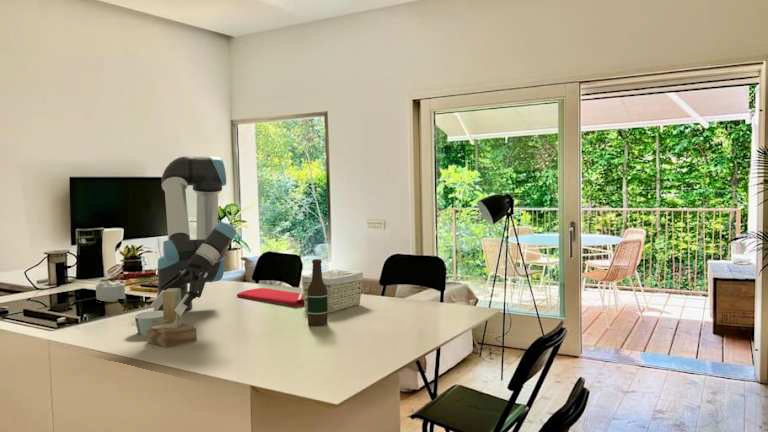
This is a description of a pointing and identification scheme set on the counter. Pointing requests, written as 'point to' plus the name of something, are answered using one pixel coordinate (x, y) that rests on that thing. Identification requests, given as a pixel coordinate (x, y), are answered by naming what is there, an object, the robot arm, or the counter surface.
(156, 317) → the food container
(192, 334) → the walnut base
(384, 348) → the counter surface
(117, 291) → the lumpy-topped squat cylinder
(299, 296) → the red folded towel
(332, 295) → the storage basket
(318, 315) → the beer bottle
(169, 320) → the skincare box
